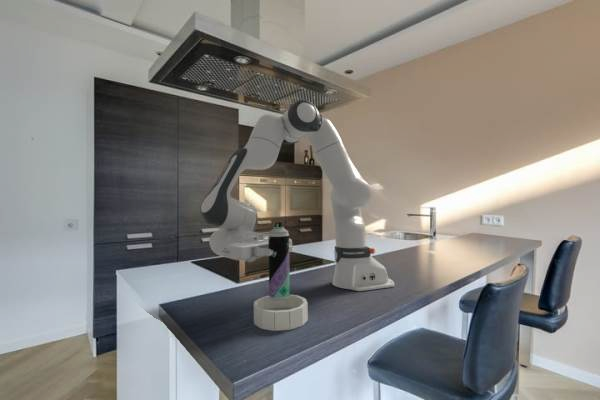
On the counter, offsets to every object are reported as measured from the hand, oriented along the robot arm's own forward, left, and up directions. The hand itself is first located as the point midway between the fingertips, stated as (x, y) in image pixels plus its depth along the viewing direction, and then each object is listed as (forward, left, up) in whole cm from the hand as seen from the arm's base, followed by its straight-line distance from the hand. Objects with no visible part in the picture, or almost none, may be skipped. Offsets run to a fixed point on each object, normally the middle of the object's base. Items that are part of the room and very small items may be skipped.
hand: (281, 250), depth 78 cm
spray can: (+1, -1, -13) cm, 13 cm away
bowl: (+1, -1, -18) cm, 18 cm away
